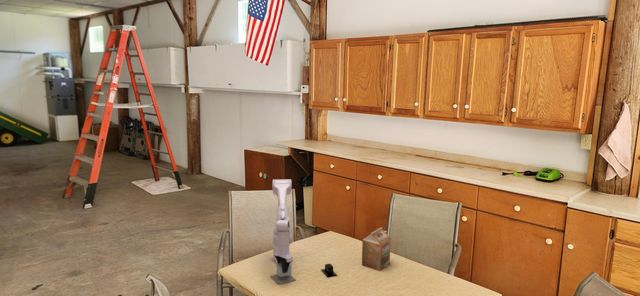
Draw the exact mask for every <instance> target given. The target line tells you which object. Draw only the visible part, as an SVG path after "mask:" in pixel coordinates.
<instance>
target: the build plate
mask: <svg viewBox="0 0 640 296" xmlns="http://www.w3.org/2000/svg"><path fill="white" fill-rule="evenodd" d="M320 271H321V272H322V274H323V275H325V277H326V278H327V279H329V278H334V277H335V278H336V277H338V275H337V273H336V272H335V271H334V266H333V265H332V264H331V263H325V264H324V268H323V269H320Z"/></svg>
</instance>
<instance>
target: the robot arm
mask: <svg viewBox="0 0 640 296" xmlns="http://www.w3.org/2000/svg"><path fill="white" fill-rule="evenodd" d="M292 183H293V182H292V179H290V178H289V179H287V178H285V179H272V194H273V195H274V196H276V197H277V207H276V220H275V228H274V229H273V232H272V244H273V247H272V248H273V249H272V252H273V256H272V257H271V259H272V260H273V261H274V262H275V263H276V265H277V264H278V263H281V265H282V271H283V273H287V272H288V268H289V265H290V264H291V263H292V262H293V259H292V257H291V253H290V246H291V244H293V239H292V238H293V236H292V234H293V233H292V229H291V221H290V220H291V219H290V216H289V212H290V211H289V207H288V206H287V197H288V195H291V193H292V189H293V188H292V187H293V186H292Z"/></svg>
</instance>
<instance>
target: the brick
mask: <svg viewBox="0 0 640 296" xmlns="http://www.w3.org/2000/svg"><path fill="white" fill-rule="evenodd" d="M292 265H293V264H291V263H290V265H289V268H288V272H287V273H283V271H282V265H281V263H278V264H277V263H276V275H277V274H278V275H279V277H282V276H287V275H291V276H292V272H293V271H292Z"/></svg>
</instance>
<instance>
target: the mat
mask: <svg viewBox="0 0 640 296" xmlns="http://www.w3.org/2000/svg"><path fill="white" fill-rule="evenodd" d="M270 278H271V279H272V280H273V281H274V282H275V283H276V284H277V285H278V286H280V285H283V284H288V283H293V282H296V278H295V277H293V275H292V274H291V275H287V276H282V277H279V275H278V274H277V273H276V274H273V275H271V276H270Z"/></svg>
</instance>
